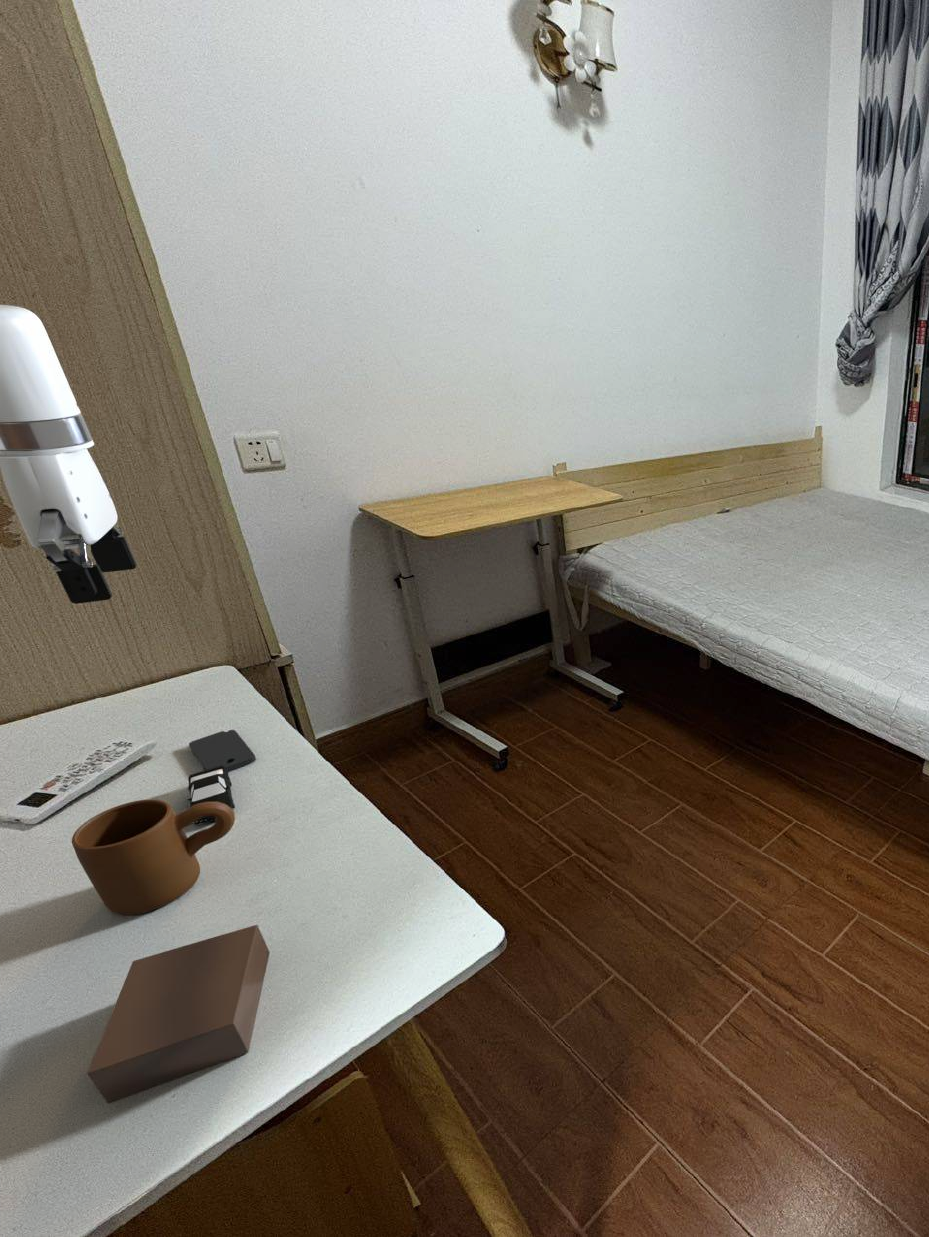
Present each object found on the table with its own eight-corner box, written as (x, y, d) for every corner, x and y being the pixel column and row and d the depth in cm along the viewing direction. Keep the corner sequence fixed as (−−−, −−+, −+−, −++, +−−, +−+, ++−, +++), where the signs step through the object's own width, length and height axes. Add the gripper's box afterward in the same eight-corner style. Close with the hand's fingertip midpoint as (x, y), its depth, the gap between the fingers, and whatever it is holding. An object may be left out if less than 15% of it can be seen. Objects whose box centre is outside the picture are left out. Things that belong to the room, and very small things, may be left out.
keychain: (232, 727, 97) (255, 756, 91) (234, 731, 97) (257, 760, 92) (187, 742, 93) (208, 773, 88) (189, 746, 93) (210, 778, 88)
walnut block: (107, 1103, 54) (86, 1073, 52) (149, 989, 62) (132, 960, 61) (248, 1052, 58) (233, 1023, 56) (269, 952, 66) (257, 924, 65)
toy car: (237, 817, 82) (230, 800, 81) (193, 832, 80) (185, 814, 79) (231, 775, 89) (224, 759, 88) (190, 787, 86) (183, 771, 85)
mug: (255, 839, 79) (229, 776, 75) (251, 882, 74) (223, 816, 70) (115, 879, 73) (79, 813, 69) (99, 930, 68) (58, 861, 63)
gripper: (20, 421, 75) (87, 564, 82) (-57, 455, 61) (31, 621, 69) (112, 418, 78) (168, 555, 86) (57, 449, 65) (129, 608, 73)
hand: (106, 584), depth 77 cm, fingers open, 9 cm apart
